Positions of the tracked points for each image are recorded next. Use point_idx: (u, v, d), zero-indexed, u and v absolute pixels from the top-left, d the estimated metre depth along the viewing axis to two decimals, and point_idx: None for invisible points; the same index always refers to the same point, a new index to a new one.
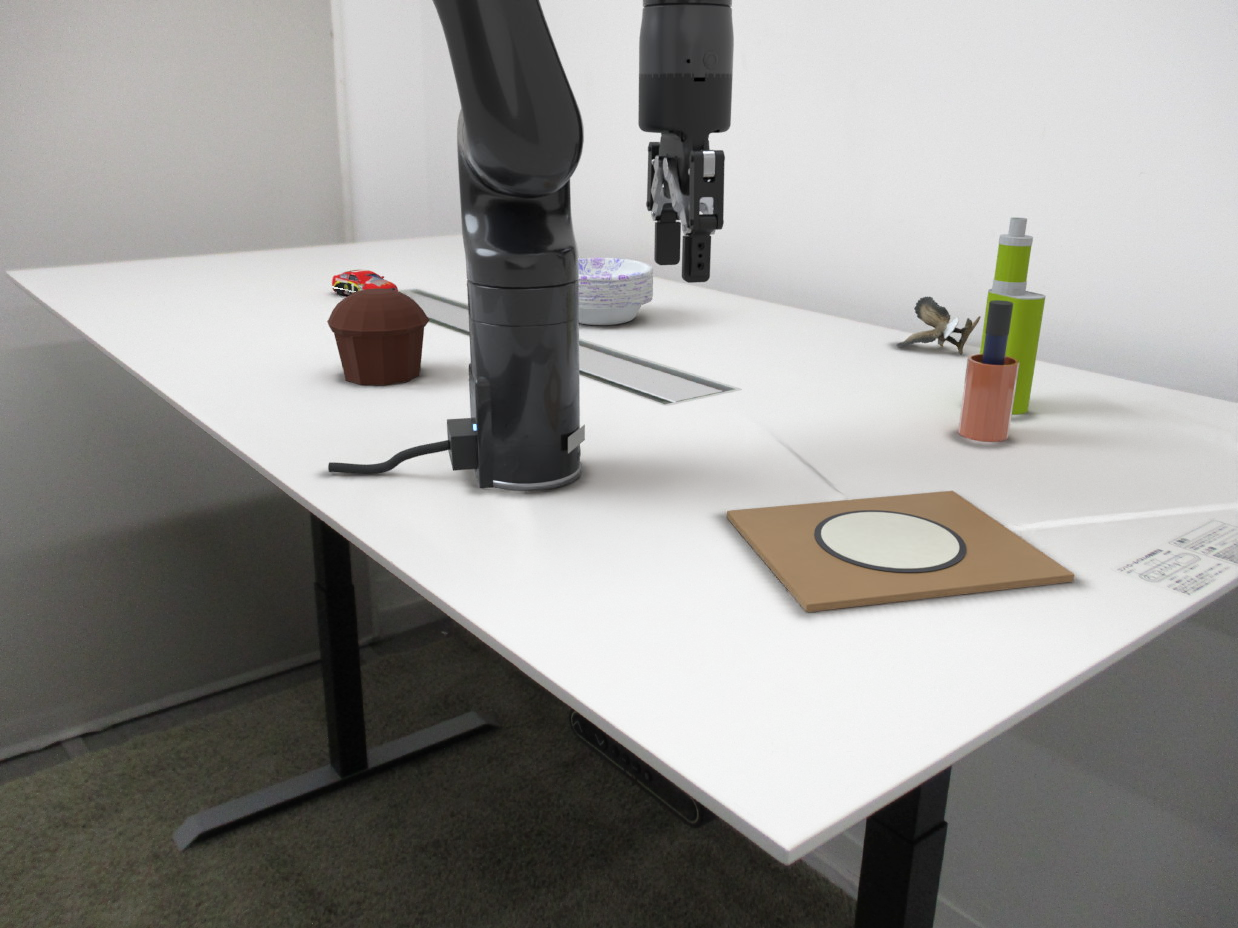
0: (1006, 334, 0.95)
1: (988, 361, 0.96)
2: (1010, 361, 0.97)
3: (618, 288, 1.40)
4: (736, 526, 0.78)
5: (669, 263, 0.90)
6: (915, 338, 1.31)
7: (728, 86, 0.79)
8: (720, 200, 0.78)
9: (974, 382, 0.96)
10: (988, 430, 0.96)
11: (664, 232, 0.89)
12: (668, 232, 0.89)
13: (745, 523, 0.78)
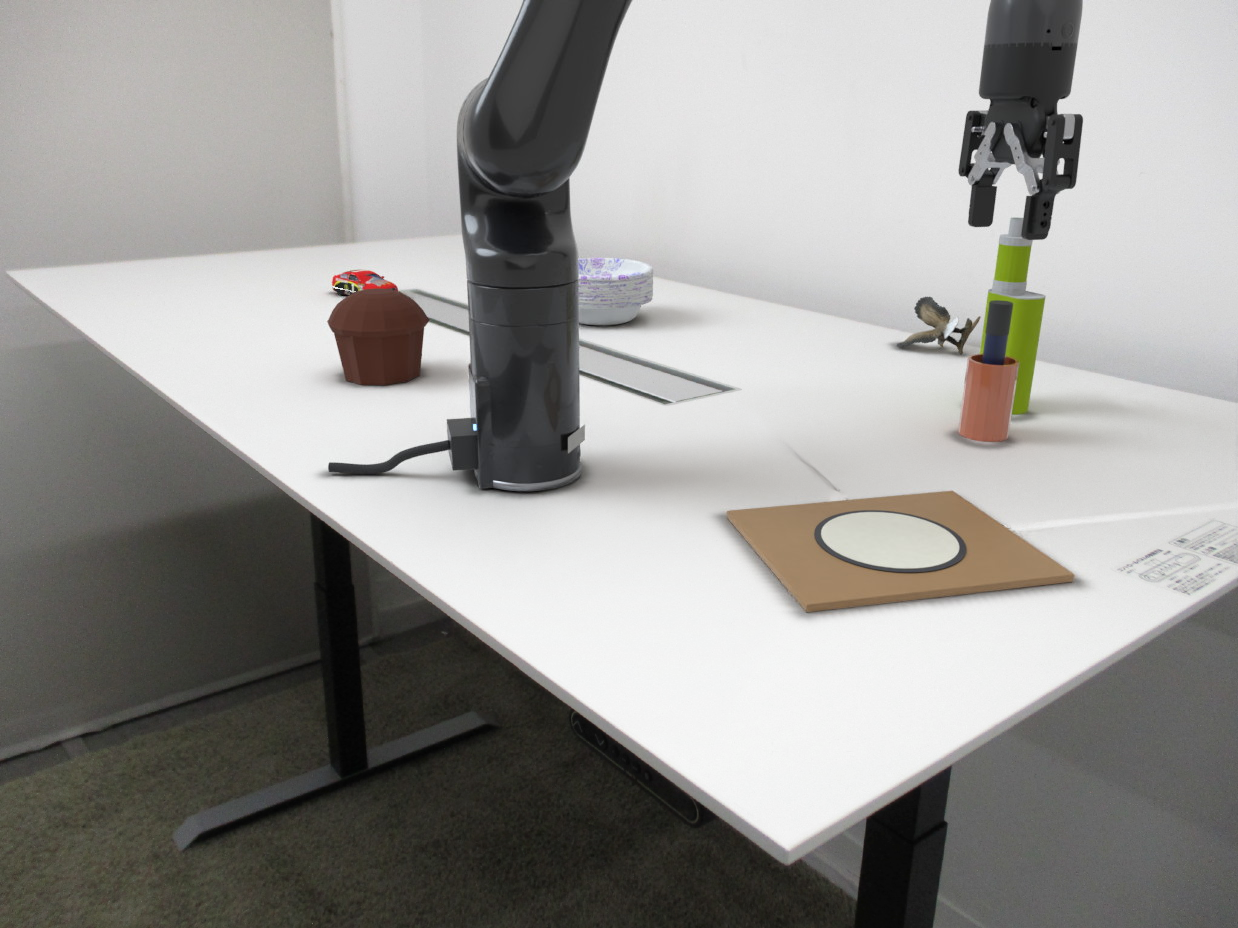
0: (1006, 334, 0.95)
1: (988, 361, 0.96)
2: (1010, 361, 0.97)
3: (618, 288, 1.40)
4: (736, 526, 0.78)
5: (983, 225, 0.96)
6: (915, 338, 1.31)
7: (1075, 55, 0.85)
8: (1075, 161, 0.83)
9: (974, 382, 0.96)
10: (988, 430, 0.96)
11: (981, 196, 0.94)
12: (985, 196, 0.95)
13: (745, 523, 0.78)
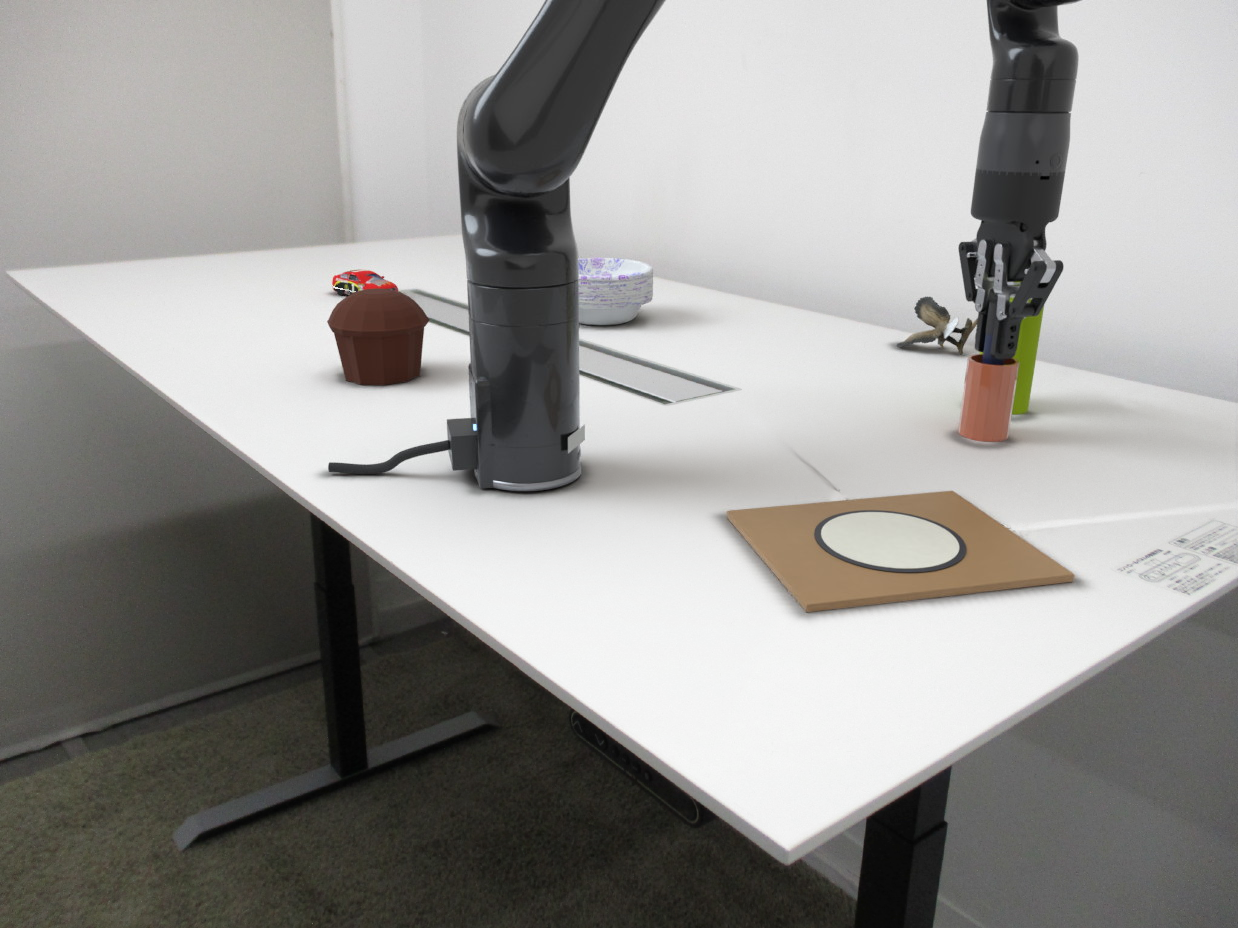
0: None
1: (988, 361, 0.96)
2: (1010, 361, 0.97)
3: (618, 289, 1.40)
4: (736, 526, 0.78)
5: None
6: (915, 338, 1.31)
7: (1063, 182, 0.89)
8: (1044, 299, 0.90)
9: (974, 382, 0.96)
10: (988, 430, 0.96)
11: None
12: None
13: (745, 523, 0.78)
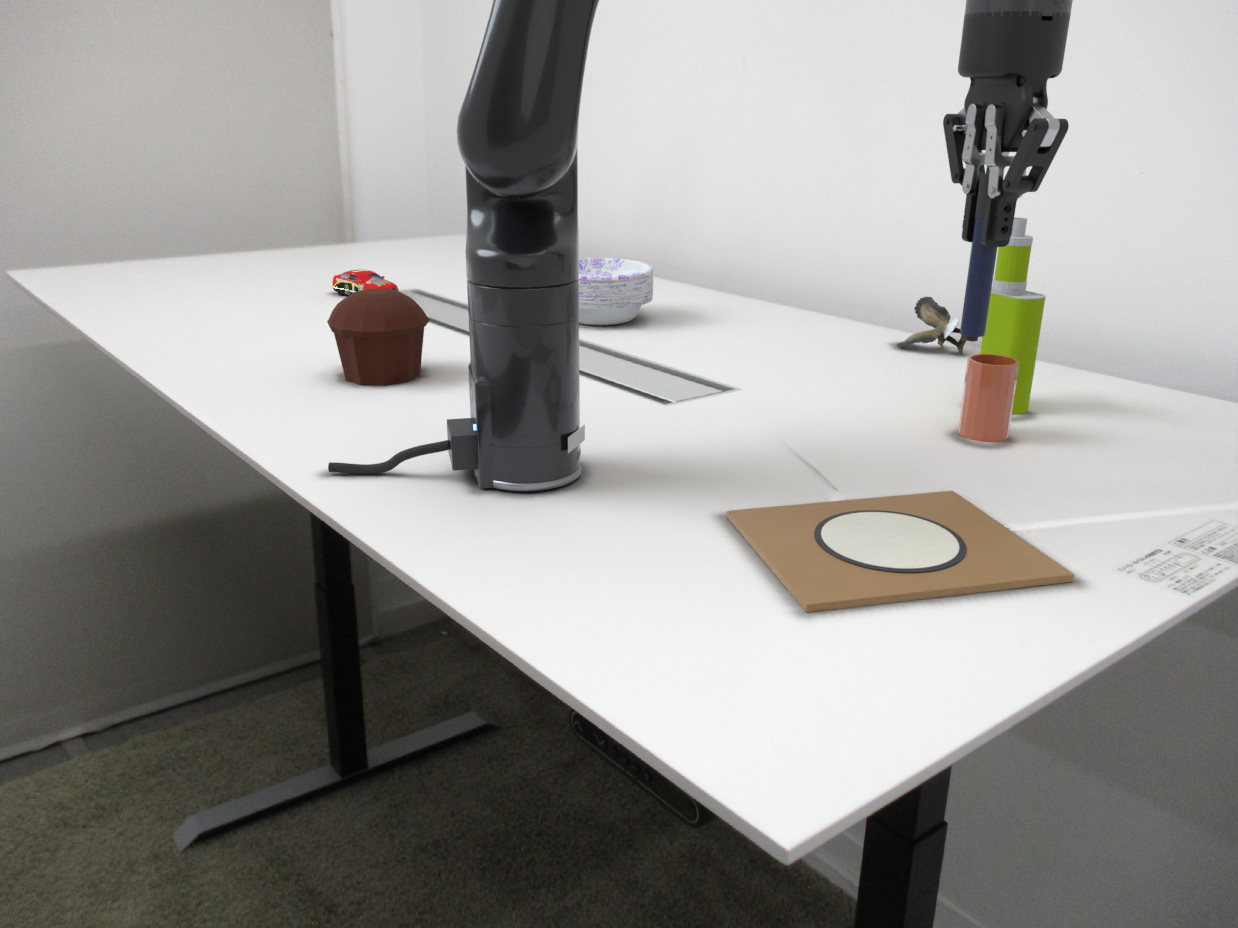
0: None
1: (978, 251, 0.81)
2: (1010, 361, 0.97)
3: (618, 289, 1.40)
4: (736, 526, 0.78)
5: None
6: (915, 338, 1.31)
7: (1068, 27, 0.75)
8: (1045, 169, 0.75)
9: (974, 382, 0.96)
10: (988, 430, 0.96)
11: None
12: None
13: (745, 523, 0.78)
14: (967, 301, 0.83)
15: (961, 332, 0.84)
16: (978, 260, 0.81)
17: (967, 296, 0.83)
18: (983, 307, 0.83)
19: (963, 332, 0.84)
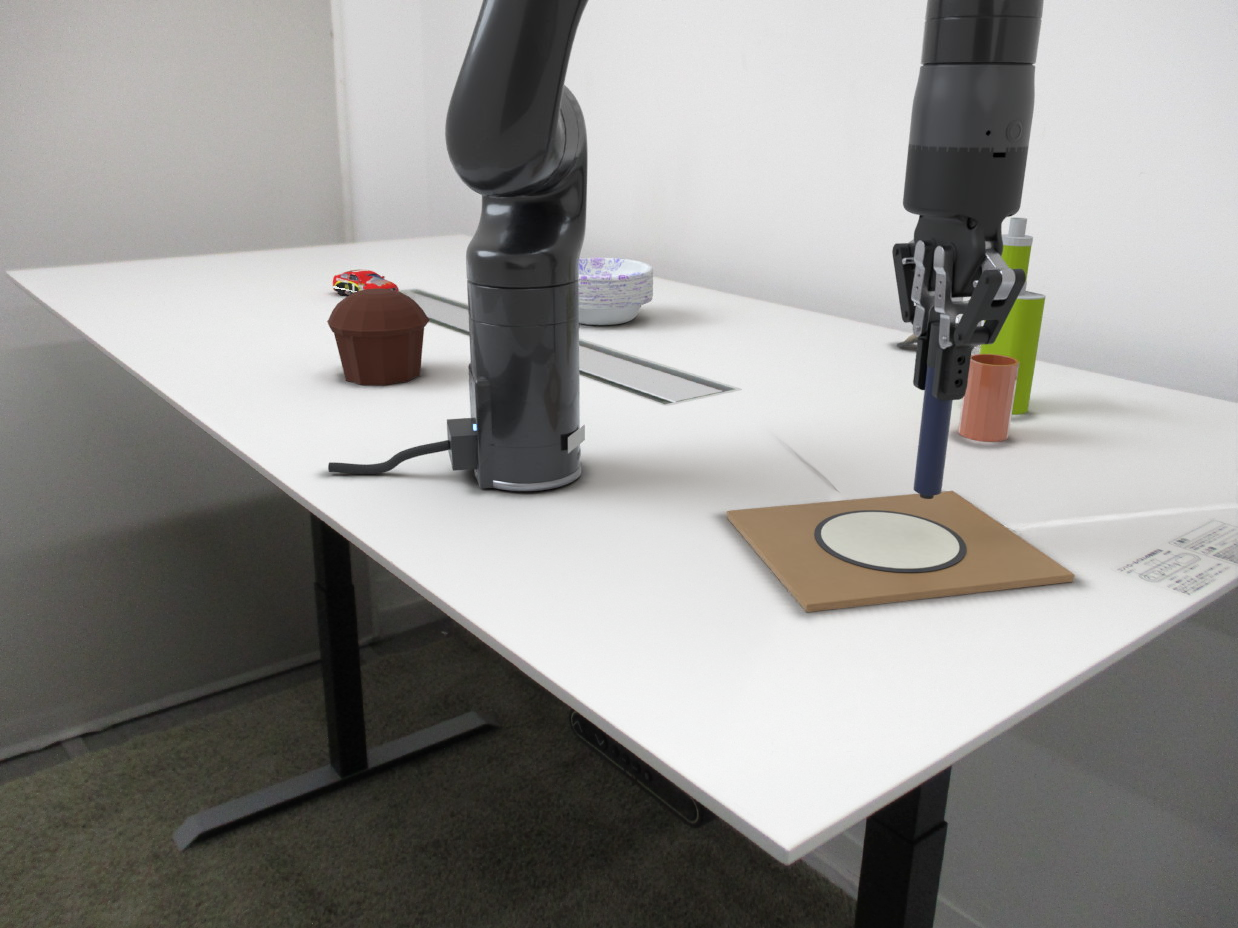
0: None
1: (930, 402, 0.72)
2: (1010, 361, 0.97)
3: (618, 288, 1.40)
4: (736, 526, 0.78)
5: None
6: (915, 338, 1.31)
7: (1025, 161, 0.65)
8: (1001, 322, 0.66)
9: (974, 382, 0.96)
10: (988, 430, 0.96)
11: None
12: None
13: (745, 523, 0.78)
14: (919, 455, 0.73)
15: (914, 488, 0.74)
16: (931, 412, 0.72)
17: (920, 450, 0.73)
18: (938, 464, 0.73)
19: (917, 489, 0.74)
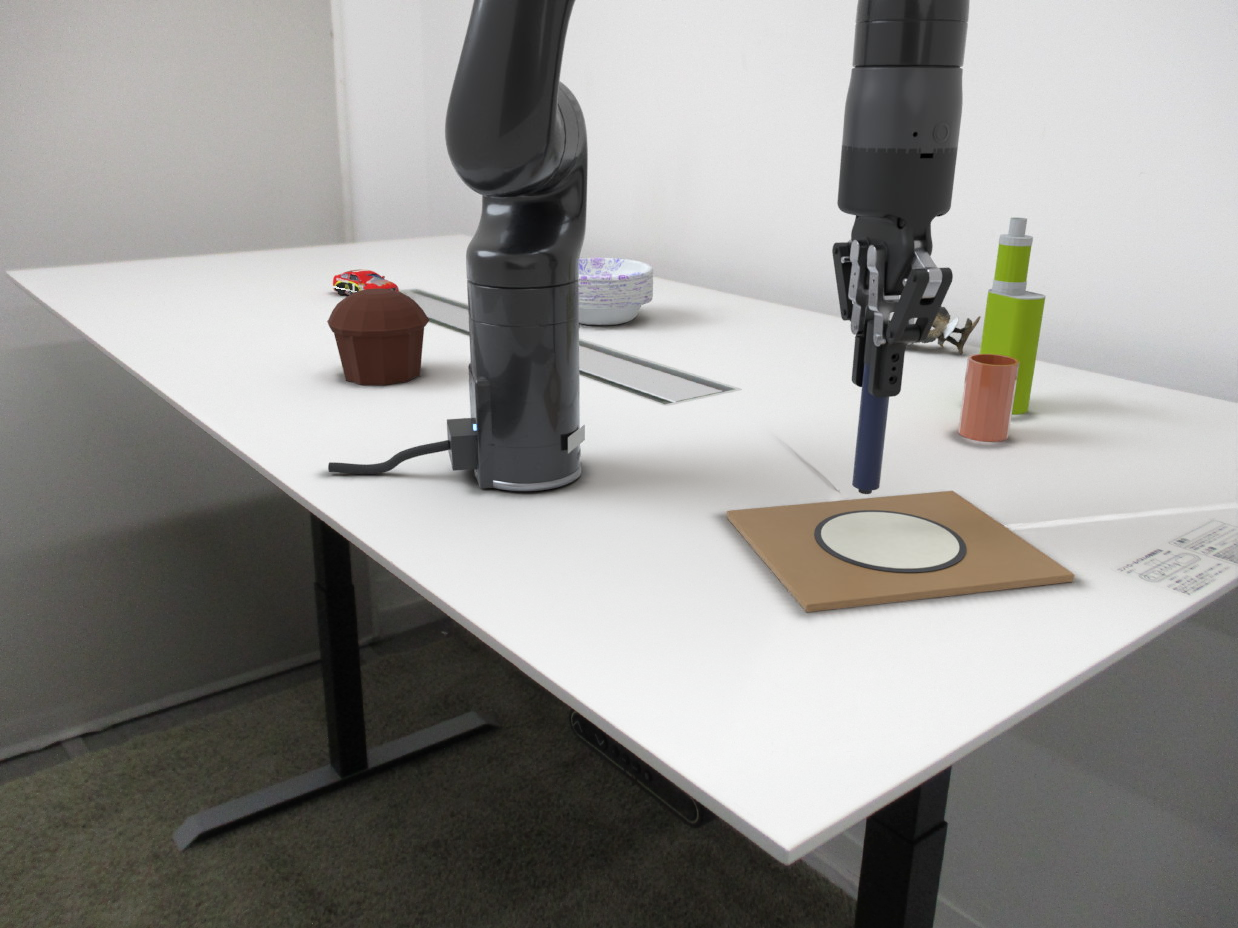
0: None
1: (867, 399, 0.73)
2: (1010, 361, 0.97)
3: (618, 289, 1.40)
4: (736, 526, 0.78)
5: None
6: None
7: (954, 162, 0.66)
8: (931, 320, 0.67)
9: (974, 382, 0.96)
10: (988, 430, 0.96)
11: None
12: None
13: (745, 523, 0.78)
14: (857, 451, 0.75)
15: (853, 484, 0.76)
16: (868, 409, 0.73)
17: (858, 445, 0.74)
18: (875, 459, 0.74)
19: (855, 484, 0.75)
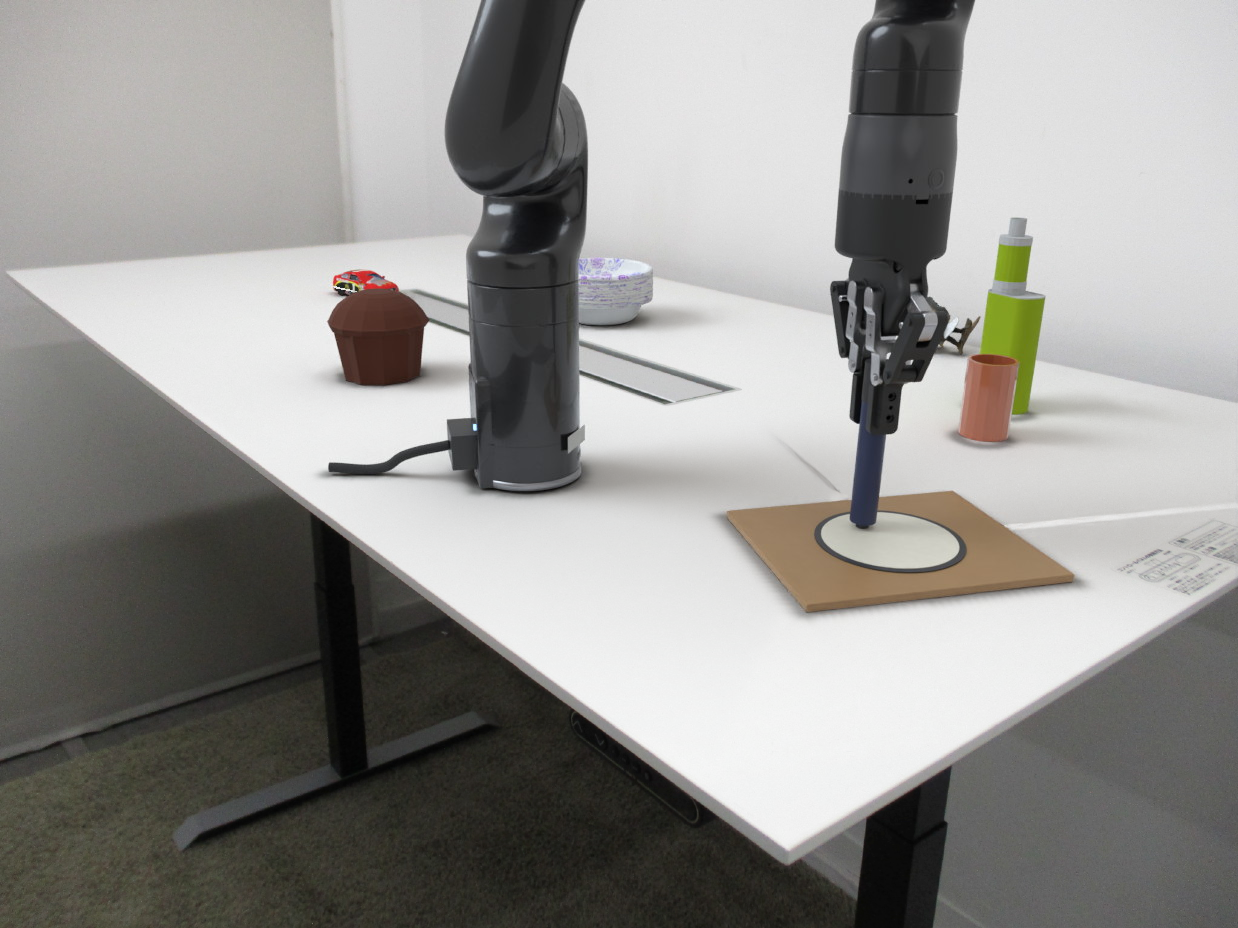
0: None
1: (864, 436, 0.74)
2: (1010, 361, 0.97)
3: (618, 289, 1.40)
4: (736, 526, 0.78)
5: None
6: None
7: (950, 206, 0.67)
8: (927, 361, 0.68)
9: (974, 382, 0.96)
10: (988, 430, 0.96)
11: None
12: None
13: (745, 523, 0.78)
14: (854, 487, 0.76)
15: (850, 518, 0.77)
16: (865, 446, 0.74)
17: (855, 481, 0.75)
18: (872, 495, 0.75)
19: (852, 519, 0.76)
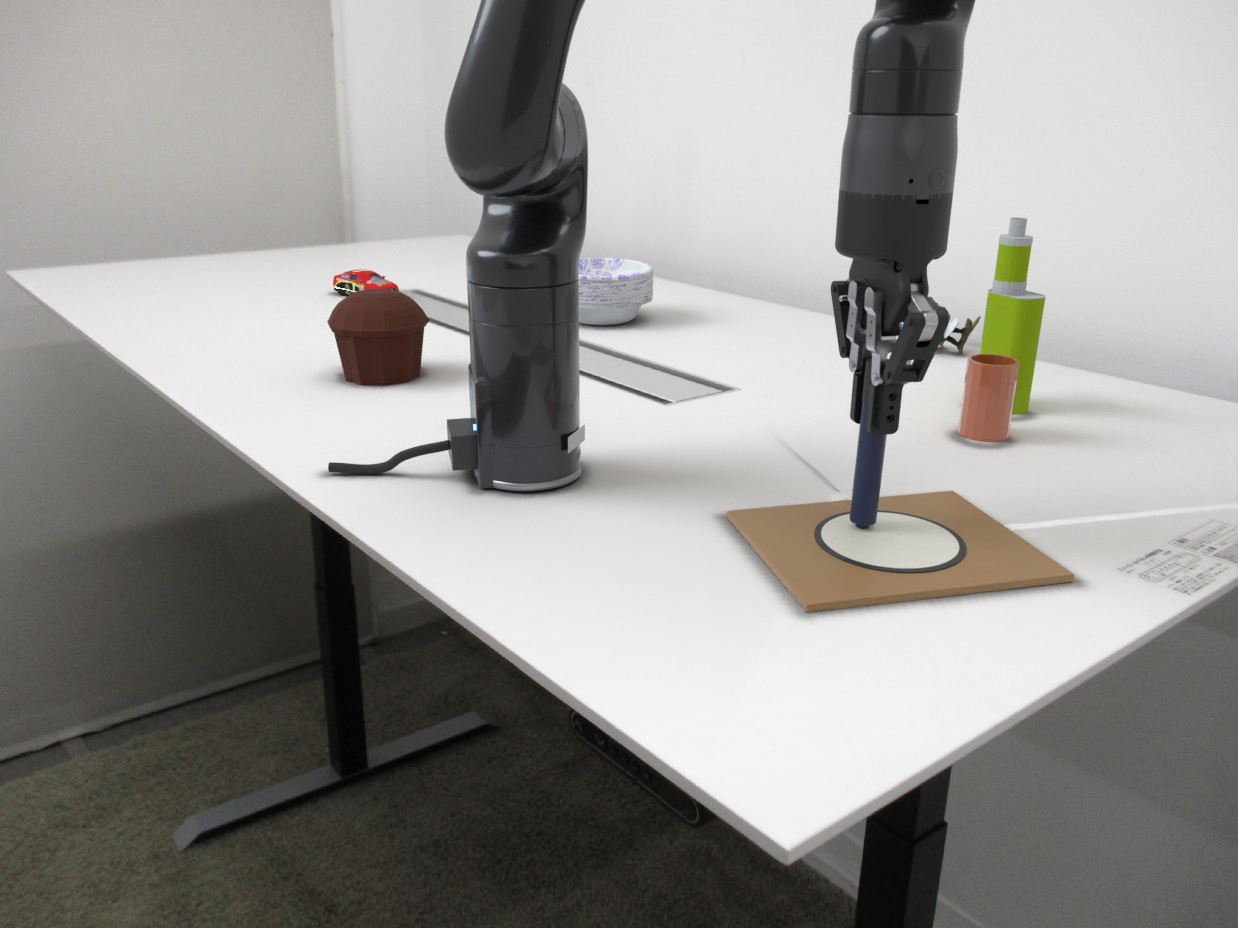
0: None
1: (865, 436, 0.74)
2: (1010, 361, 0.97)
3: (618, 288, 1.40)
4: (736, 526, 0.78)
5: None
6: None
7: (950, 206, 0.67)
8: (927, 361, 0.68)
9: (974, 382, 0.96)
10: (988, 430, 0.96)
11: None
12: None
13: (745, 523, 0.78)
14: (855, 487, 0.76)
15: (850, 518, 0.77)
16: (865, 446, 0.74)
17: (855, 481, 0.75)
18: (872, 495, 0.75)
19: (852, 519, 0.76)
